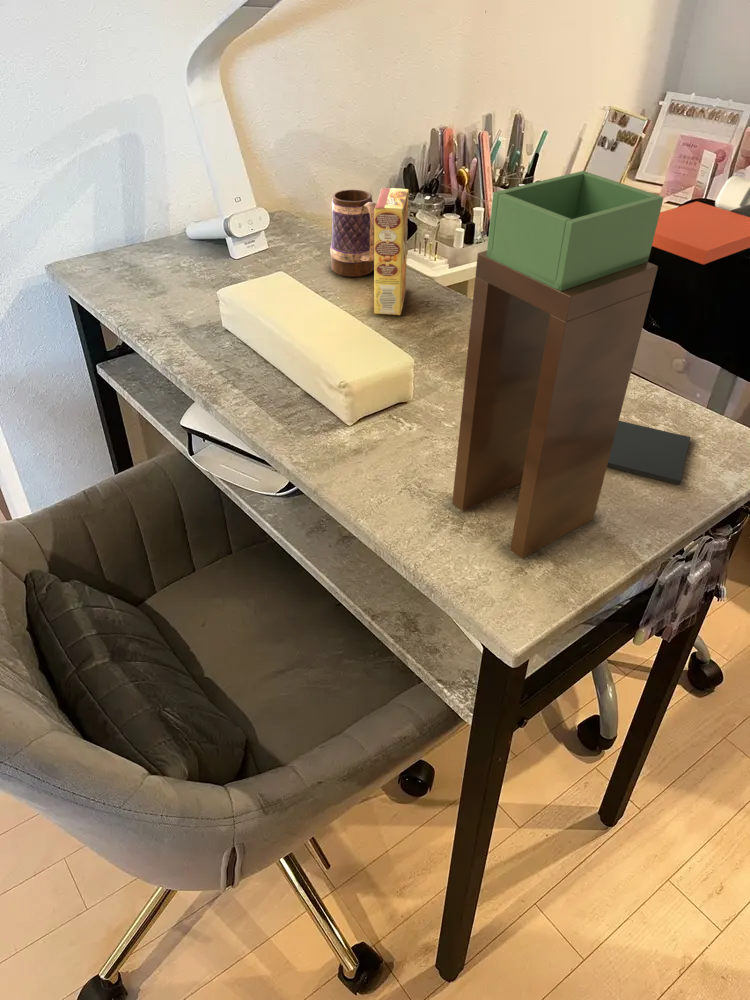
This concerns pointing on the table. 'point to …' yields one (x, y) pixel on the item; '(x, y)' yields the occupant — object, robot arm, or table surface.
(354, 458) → the table surface
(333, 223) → the mug
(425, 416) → the table surface
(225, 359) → the table surface
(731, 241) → the red square paddle
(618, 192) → the green open box
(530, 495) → the stand
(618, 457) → the mat
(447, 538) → the table surface
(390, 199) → the candy box
